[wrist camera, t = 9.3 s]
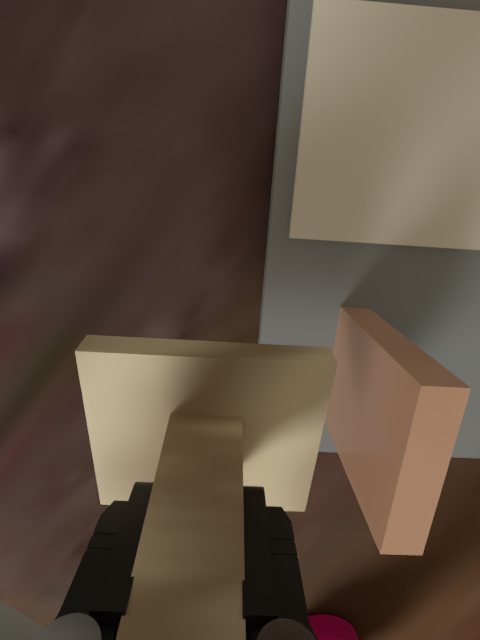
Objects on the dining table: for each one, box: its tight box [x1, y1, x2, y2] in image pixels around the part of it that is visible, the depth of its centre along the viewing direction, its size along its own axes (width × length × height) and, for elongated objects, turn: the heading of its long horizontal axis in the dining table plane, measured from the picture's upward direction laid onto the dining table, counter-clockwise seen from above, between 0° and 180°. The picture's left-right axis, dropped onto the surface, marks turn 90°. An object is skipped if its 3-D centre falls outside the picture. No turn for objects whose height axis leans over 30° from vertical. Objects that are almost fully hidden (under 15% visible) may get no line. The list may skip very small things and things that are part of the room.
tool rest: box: [289, 0, 480, 250], centre depth 17 cm, size 10×10×1 cm
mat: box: [258, 0, 480, 458], centre depth 20 cm, size 22×24×1 cm
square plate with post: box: [75, 335, 337, 640], centre depth 9 cm, size 8×7×11 cm
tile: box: [325, 306, 471, 555], centre depth 17 cm, size 2×7×9 cm, turn 176°
